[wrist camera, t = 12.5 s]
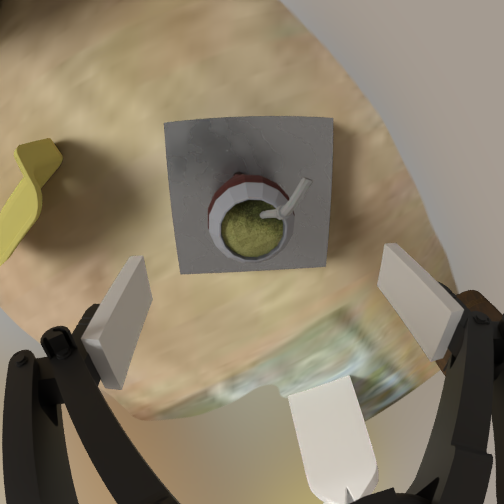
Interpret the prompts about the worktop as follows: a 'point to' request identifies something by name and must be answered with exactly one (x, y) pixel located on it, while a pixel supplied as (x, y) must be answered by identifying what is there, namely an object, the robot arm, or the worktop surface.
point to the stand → (250, 163)
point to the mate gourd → (253, 217)
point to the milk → (334, 442)
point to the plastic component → (27, 193)
